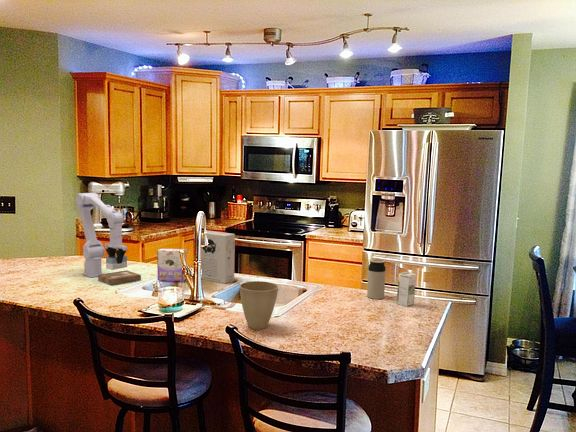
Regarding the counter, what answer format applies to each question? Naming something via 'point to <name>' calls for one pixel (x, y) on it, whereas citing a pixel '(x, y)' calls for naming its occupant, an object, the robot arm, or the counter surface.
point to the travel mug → (376, 279)
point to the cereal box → (218, 257)
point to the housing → (115, 262)
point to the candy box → (170, 265)
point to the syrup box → (406, 288)
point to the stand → (119, 277)
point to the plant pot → (258, 302)
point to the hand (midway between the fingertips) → (116, 262)
